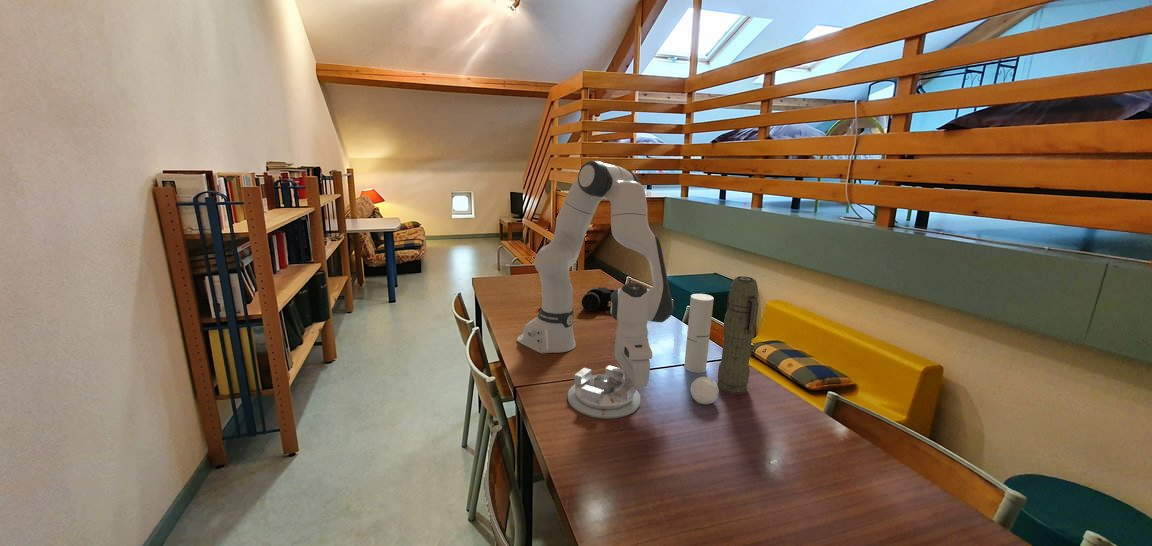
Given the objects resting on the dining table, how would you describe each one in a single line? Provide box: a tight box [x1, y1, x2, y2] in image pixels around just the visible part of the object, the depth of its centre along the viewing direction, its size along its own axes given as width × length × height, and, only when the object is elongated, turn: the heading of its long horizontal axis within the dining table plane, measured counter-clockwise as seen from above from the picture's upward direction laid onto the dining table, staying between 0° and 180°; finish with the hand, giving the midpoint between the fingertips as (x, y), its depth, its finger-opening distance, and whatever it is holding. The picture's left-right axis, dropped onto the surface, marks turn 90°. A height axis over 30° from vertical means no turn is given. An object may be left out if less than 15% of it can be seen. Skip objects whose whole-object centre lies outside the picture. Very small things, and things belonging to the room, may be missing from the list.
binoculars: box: [581, 286, 616, 312], centre depth 210 cm, size 29×20×10 cm
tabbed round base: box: [573, 365, 637, 410], centre depth 132 cm, size 17×17×5 cm
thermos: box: [716, 275, 759, 395], centre depth 137 cm, size 9×12×35 cm
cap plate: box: [567, 384, 641, 420], centre depth 133 cm, size 21×21×1 cm
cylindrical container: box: [683, 293, 714, 374], centre depth 151 cm, size 7×7×25 cm
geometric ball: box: [690, 375, 720, 405], centre depth 131 cm, size 8×8×8 cm
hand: (628, 385), depth 133 cm, fingers closed
